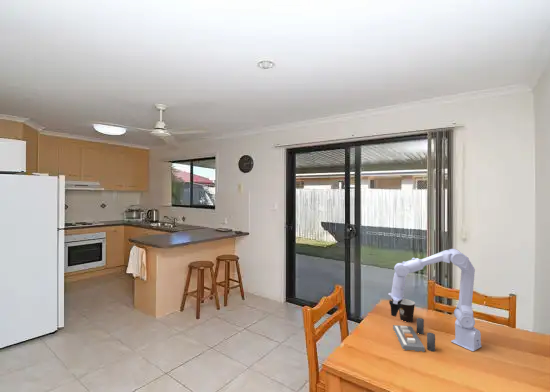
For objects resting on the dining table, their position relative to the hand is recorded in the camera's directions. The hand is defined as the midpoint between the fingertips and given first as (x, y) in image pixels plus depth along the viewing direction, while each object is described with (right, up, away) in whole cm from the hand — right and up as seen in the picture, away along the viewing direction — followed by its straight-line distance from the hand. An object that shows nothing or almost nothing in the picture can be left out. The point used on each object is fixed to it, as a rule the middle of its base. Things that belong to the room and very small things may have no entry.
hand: (394, 313), depth 140 cm
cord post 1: (+13, -10, 0) cm, 17 cm away
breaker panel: (+4, -11, -5) cm, 13 cm away
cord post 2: (+11, -11, -14) cm, 21 cm away
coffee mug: (+14, -10, +17) cm, 24 cm away
